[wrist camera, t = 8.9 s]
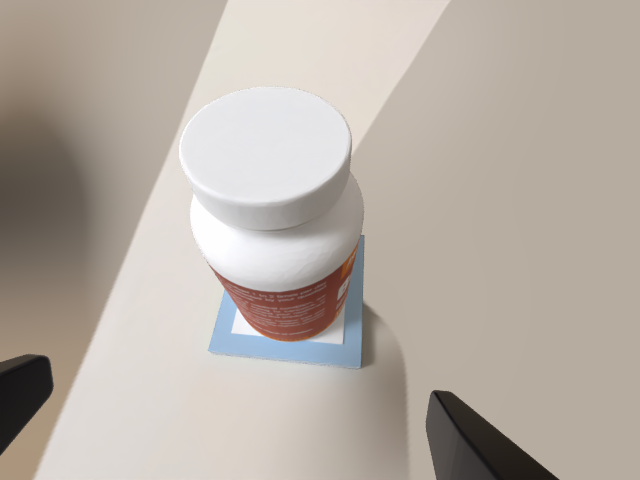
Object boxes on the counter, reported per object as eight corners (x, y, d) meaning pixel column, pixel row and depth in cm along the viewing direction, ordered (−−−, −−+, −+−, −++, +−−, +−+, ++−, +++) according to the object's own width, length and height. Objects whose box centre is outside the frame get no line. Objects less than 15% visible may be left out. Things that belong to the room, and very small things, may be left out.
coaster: (358, 369, 16) (361, 366, 16) (212, 353, 17) (207, 350, 16) (362, 241, 21) (364, 234, 20) (245, 231, 21) (242, 223, 20)
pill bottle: (356, 335, 16) (413, 214, 7) (240, 354, 16) (128, 250, 6) (335, 237, 20) (354, 62, 10) (238, 250, 19) (160, 77, 10)
